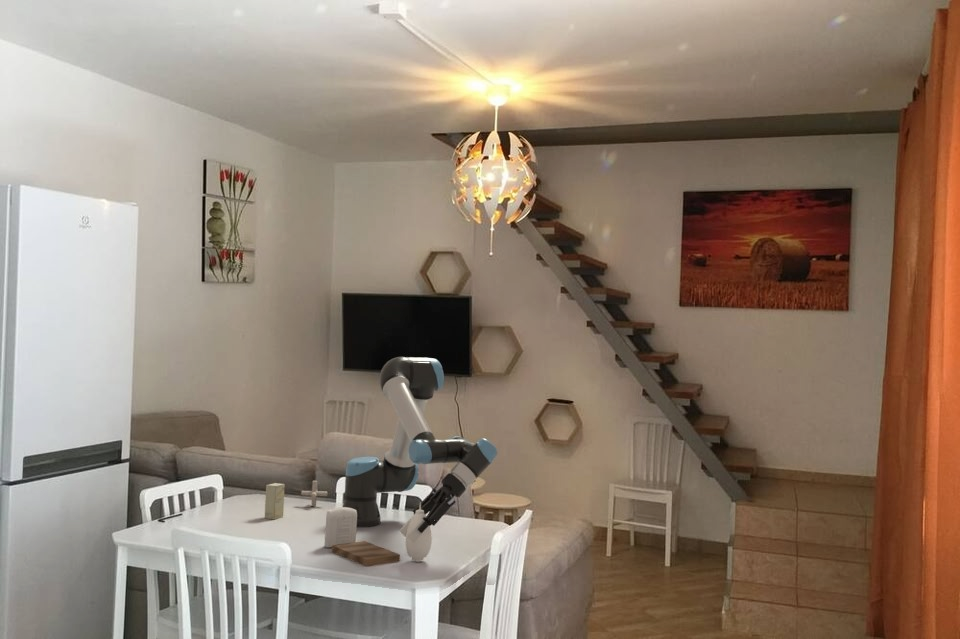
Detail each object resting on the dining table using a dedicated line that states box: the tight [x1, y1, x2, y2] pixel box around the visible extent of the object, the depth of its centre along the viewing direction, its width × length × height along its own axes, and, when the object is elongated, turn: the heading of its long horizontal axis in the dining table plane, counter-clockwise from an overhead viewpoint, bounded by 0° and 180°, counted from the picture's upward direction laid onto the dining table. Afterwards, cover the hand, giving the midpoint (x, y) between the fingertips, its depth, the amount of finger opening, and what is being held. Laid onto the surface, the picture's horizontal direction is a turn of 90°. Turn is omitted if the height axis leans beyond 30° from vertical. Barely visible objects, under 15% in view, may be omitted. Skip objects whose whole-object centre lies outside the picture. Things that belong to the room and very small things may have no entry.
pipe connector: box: [300, 480, 328, 507], centre depth 335 cm, size 10×10×10 cm
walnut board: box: [331, 540, 401, 567], centre depth 261 cm, size 20×12×2 cm, turn 40°
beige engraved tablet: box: [324, 506, 357, 549], centre depth 273 cm, size 10×4×12 cm, turn 119°
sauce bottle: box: [405, 501, 433, 563], centre depth 258 cm, size 8×8×18 cm
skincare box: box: [264, 482, 286, 520], centre depth 311 cm, size 6×4×12 cm
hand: (406, 536), depth 256 cm, fingers closed on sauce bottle, 6 cm apart
